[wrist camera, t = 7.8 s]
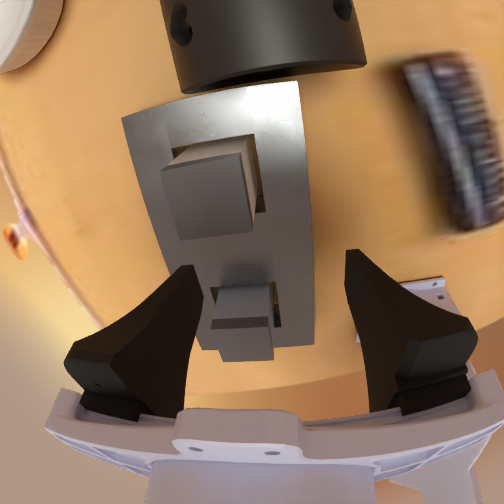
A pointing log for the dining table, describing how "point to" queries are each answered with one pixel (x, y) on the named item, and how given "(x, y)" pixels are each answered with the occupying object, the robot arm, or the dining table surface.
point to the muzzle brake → (259, 40)
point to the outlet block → (267, 207)
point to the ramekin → (25, 29)
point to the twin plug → (244, 322)
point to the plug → (212, 188)
